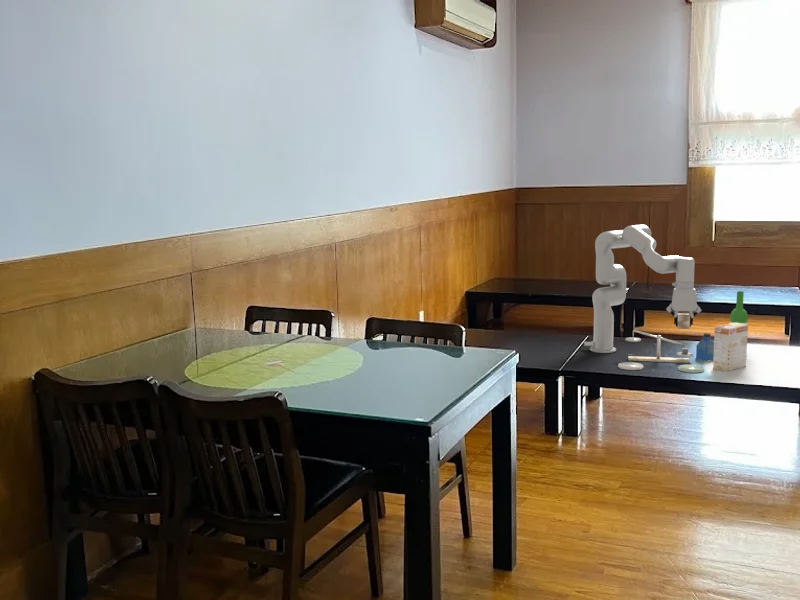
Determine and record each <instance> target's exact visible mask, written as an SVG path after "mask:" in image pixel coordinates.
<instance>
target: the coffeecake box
mask: <svg viewBox="0 0 800 600" xmlns="http://www.w3.org/2000/svg"><path fill="white" fill-rule="evenodd" d="M748 330H749V324H748V323H747V324H742V323H736V322H735V323H730V322H729V323H727V324H726V323H724V324H721V325H715V326H714V338H713V339H714V341H713V342H714V358H713V360H712V361H713V363H712V369H713V370H717V369H718V371H721V370H722V372H730V371H733V370H737V369H741V368H745V367H746V368H747V355H748V354H747V353H748V352H747V349H748V348H747V347H748V335H749V333H748V332H749V331H748Z"/></svg>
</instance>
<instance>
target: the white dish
mask: <svg viewBox="0 0 800 600" xmlns="http://www.w3.org/2000/svg"><path fill="white" fill-rule="evenodd" d="M617 368H618V369H621V370H625V371H640V370H643V369H644V365H643V364H642V363H640V362H634V361H633V362H632V361H625V362H624V361H623V362H619V363H618V365H617Z"/></svg>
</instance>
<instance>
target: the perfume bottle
mask: <svg viewBox="0 0 800 600" xmlns="http://www.w3.org/2000/svg"><path fill="white" fill-rule="evenodd" d="M711 339H712V336H711V333H709V332H708V333H707V332H706V333H703V336H702V339H701V340H699V342H698V343H697V345H696V351H695V353H696V354H695V359H698V360H702V361H705V362H707V361H708V360H709V361H713V358H714V341H713V340H711Z"/></svg>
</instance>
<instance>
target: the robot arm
mask: <svg viewBox="0 0 800 600" xmlns="http://www.w3.org/2000/svg"><path fill="white" fill-rule="evenodd" d="M594 242H595V243H594V248H595V249H594V250H595V279H596V282H597V283H598V284H599V285H601V286H602V285H603V287H598V288H597V289H595V290H594V291H593V293H592V295H591V296H592V299H591V300H592V305H593V306H592V307H593V340H592V341H584V342H583V346H584V347H589V350H590V352H593V353H598V354H599V353H600V354H611V353H615V352H617V348H616V347H614V326H615V325H614V322H615V318H614V317H615V315H614V311H613V309H612V307H613V306H619V305H621V304H623V303H624V302H625V301H626V298H627V297H626V296H627V272H626V269H625V267H624V266H623V265H621V264H618V263H615V256H614V253H613V251H612V249H621V248H628V247H629V248H630V247H632V248H633V249H635V250H636V251H637V252H639V253H640V254H641V255H642V259H643V262H644V263H645V264H646V266H647V267H649V268H650V269H651V270H653V271H655V272H656V273H659V274H664V275H665V274H673V273H675V282H672V284H671V285H672V286H673V287H674V288H673V290H672V297H671V303H669V306H667V307H666V311H667V312H668V313H670V315H672V316H673V317H674V318H673V319H674V320H673V324H674V325H675V327H676V328H677V326H678V317H677V315H678V313H679V312H681V313H682V312H685V313H687V312H688V314H690V328H691V327H692V325H693V324H694V323H693V321H694V318H695V317H696V316H697V315H698V314H699V313H701V312H702V309H701V307H700V306H699V304H697V303H698V302H697V290H696V288H695V286H694V285H695V263H696V261H695V259H694V258H693V257H689V256H687V257H686V256H682V255H681V256H679V255H667V256H666V255H665V256H662V255H661V254H659V253H658V252H656V251H655V250H656V247H657V241H656V239H654V238H653V237H652V230H651V228H650V227H649V226H647V225H646V224H635V225H633V224H632V225H628V226H626V227H625V228H623V229H619V230H608V231H604V232H601V233H600V234H599V235H598V236H597V237H596V239H595V241H594ZM604 285H610V286H604Z"/></svg>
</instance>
